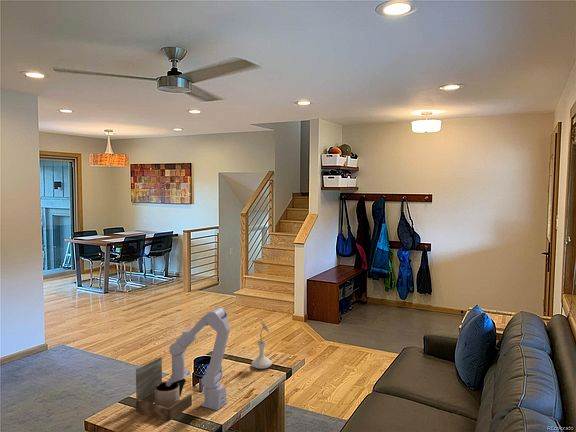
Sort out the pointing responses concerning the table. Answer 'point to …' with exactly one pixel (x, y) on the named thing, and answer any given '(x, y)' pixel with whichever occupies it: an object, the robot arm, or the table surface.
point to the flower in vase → (261, 354)
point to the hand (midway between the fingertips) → (178, 395)
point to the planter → (167, 394)
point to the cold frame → (145, 393)
